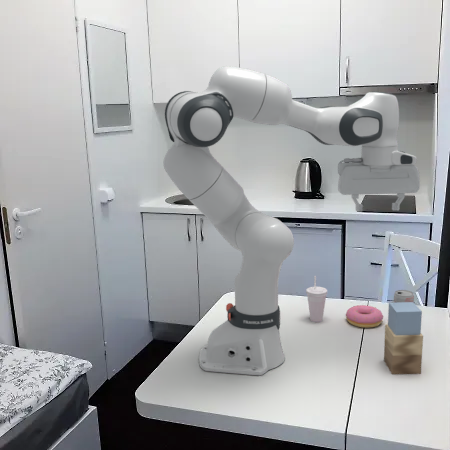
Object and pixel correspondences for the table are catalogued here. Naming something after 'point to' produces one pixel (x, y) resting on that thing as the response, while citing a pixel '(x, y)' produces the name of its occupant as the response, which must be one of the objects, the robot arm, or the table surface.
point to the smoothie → (316, 302)
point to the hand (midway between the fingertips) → (377, 210)
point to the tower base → (402, 363)
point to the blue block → (404, 318)
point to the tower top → (403, 343)
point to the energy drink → (403, 296)
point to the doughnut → (364, 316)
